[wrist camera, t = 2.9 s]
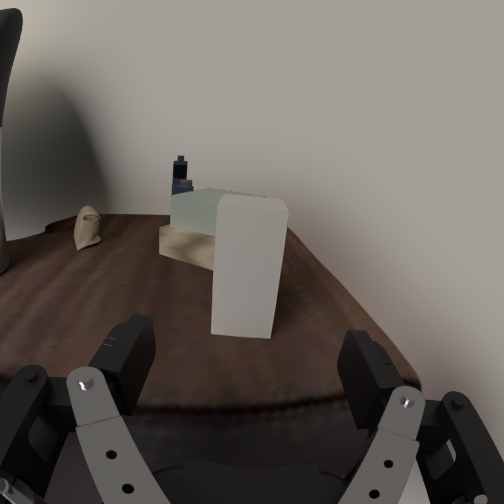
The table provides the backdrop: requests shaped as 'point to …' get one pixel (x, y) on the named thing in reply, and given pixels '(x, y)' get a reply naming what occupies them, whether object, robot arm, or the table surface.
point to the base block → (187, 246)
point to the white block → (247, 264)
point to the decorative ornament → (86, 227)
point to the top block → (198, 210)
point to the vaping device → (180, 177)
